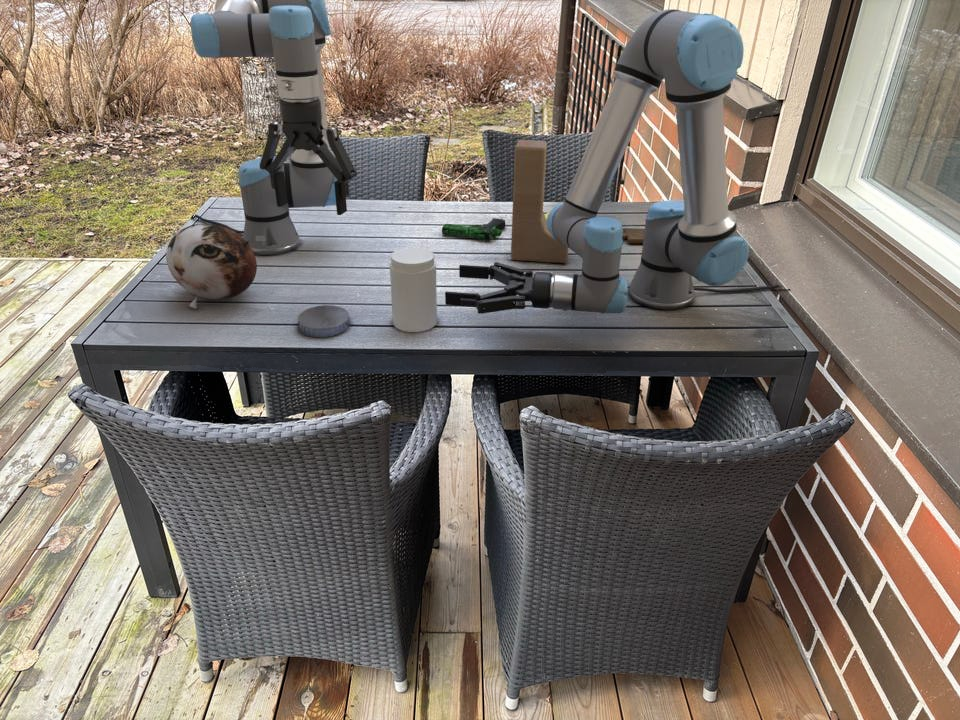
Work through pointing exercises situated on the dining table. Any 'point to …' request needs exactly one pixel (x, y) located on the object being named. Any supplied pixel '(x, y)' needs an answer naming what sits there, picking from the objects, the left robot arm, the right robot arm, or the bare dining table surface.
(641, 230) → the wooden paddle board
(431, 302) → the jar
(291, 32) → the left robot arm
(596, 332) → the dining table surface
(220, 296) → the cat face ball
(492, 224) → the handgun
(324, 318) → the lid
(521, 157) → the decorative block
